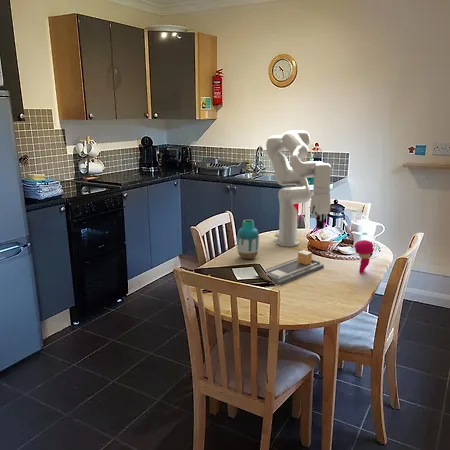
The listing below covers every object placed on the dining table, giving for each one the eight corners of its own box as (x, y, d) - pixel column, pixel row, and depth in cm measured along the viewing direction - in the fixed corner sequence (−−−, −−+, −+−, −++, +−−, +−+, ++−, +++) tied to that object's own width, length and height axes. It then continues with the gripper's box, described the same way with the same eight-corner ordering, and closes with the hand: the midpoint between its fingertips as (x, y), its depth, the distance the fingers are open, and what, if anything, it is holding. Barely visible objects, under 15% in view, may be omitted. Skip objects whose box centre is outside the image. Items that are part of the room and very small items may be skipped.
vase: (235, 261, 211) (235, 223, 205) (239, 253, 221) (239, 217, 215) (257, 262, 209) (257, 224, 203) (259, 254, 219) (260, 218, 213)
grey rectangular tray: (300, 259, 212) (300, 254, 211) (323, 267, 202) (323, 262, 201) (255, 276, 192) (255, 270, 192) (278, 285, 182) (278, 279, 181)
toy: (372, 276, 191) (375, 244, 187) (353, 275, 193) (355, 243, 189) (370, 269, 199) (373, 238, 195) (351, 268, 201) (354, 237, 197)
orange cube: (303, 259, 206) (303, 249, 204) (311, 262, 202) (312, 252, 201) (297, 261, 203) (297, 251, 202) (305, 264, 200) (306, 254, 198)
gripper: (324, 187, 207) (323, 224, 212) (304, 191, 198) (303, 229, 202) (337, 189, 201) (335, 226, 206) (318, 193, 192) (316, 232, 197)
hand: (319, 228), depth 204 cm, fingers closed
